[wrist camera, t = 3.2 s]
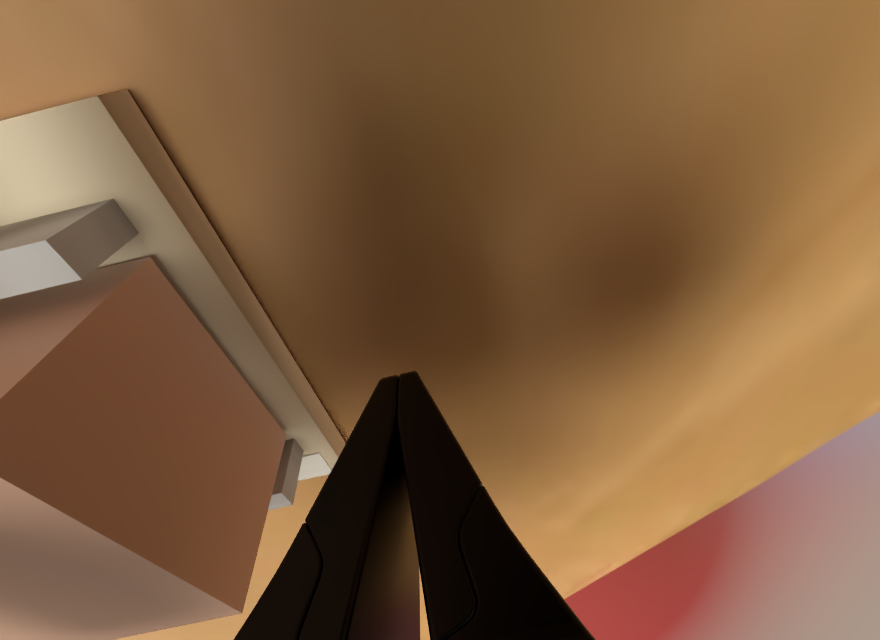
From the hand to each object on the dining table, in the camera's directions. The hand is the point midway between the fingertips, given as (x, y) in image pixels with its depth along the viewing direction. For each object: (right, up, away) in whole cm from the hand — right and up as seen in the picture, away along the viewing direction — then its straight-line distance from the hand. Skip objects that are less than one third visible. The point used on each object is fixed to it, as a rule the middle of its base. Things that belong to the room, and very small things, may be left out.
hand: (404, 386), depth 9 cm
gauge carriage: (-8, -1, +3) cm, 8 cm away
